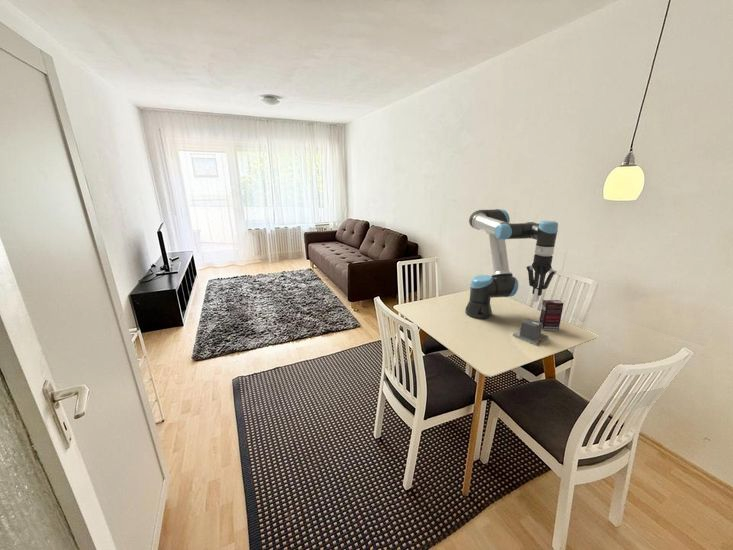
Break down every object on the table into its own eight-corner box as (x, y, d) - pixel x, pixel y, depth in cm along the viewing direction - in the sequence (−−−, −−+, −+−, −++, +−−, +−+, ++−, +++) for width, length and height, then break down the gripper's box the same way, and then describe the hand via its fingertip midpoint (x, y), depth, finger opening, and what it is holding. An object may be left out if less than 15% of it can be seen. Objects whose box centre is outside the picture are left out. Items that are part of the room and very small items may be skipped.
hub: (512, 335, 153) (513, 325, 151) (524, 329, 160) (525, 319, 158) (536, 345, 144) (538, 334, 142) (547, 338, 150) (549, 327, 148)
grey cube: (526, 330, 156) (528, 317, 154) (540, 335, 150) (542, 322, 148) (519, 334, 152) (521, 321, 150) (533, 339, 146) (535, 326, 144)
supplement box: (554, 326, 162) (559, 299, 157) (558, 330, 157) (564, 303, 153) (537, 326, 163) (542, 299, 158) (541, 330, 158) (546, 302, 154)
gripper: (525, 253, 142) (518, 298, 149) (554, 258, 132) (546, 307, 139) (533, 250, 146) (526, 295, 153) (562, 255, 136) (553, 303, 143)
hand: (535, 300), depth 146 cm, fingers closed
